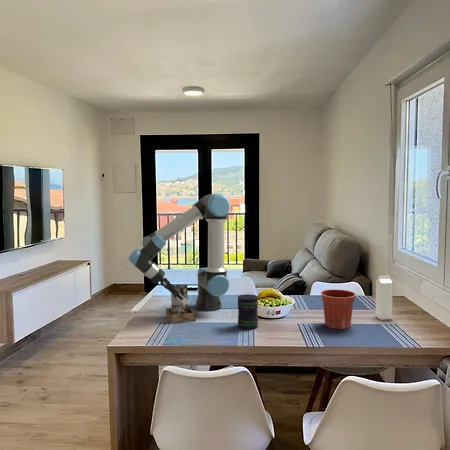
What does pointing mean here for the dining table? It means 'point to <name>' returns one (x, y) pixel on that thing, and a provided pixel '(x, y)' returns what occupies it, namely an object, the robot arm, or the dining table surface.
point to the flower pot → (338, 308)
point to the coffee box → (177, 304)
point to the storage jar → (247, 312)
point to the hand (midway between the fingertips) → (184, 300)
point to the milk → (384, 298)
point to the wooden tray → (180, 316)
